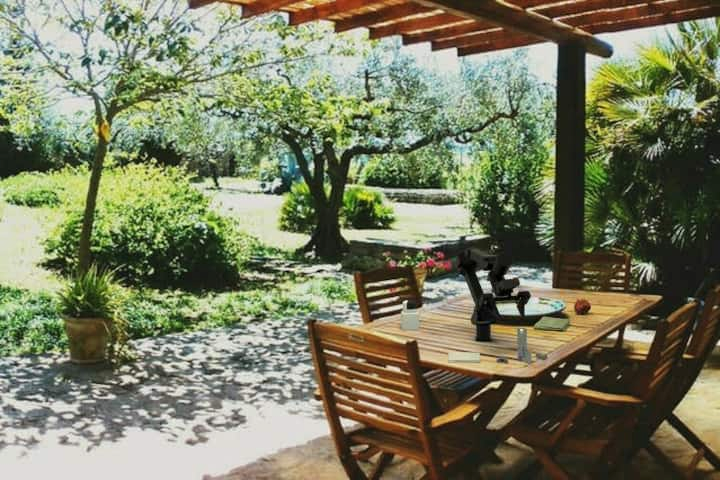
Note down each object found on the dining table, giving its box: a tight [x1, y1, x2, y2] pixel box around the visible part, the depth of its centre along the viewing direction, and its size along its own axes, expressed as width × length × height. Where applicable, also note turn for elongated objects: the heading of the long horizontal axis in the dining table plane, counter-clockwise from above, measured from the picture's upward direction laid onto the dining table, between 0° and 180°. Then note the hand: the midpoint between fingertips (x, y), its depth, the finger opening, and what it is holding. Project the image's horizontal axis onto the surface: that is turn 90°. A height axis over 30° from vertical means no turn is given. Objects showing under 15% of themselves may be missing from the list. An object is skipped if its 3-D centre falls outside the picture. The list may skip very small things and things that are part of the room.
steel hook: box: [516, 327, 532, 365], centre depth 251 cm, size 7×3×11 cm, turn 14°
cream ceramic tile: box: [448, 351, 482, 363], centre depth 256 cm, size 11×11×1 cm
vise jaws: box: [496, 352, 548, 364], centre depth 253 cm, size 5×19×1 cm, turn 104°
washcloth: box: [533, 316, 571, 332], centre depth 306 cm, size 13×18×3 cm
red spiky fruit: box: [573, 298, 592, 317], centre depth 331 cm, size 7×7×10 cm
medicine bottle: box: [400, 299, 420, 331], centre depth 308 cm, size 7×7×12 cm
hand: (511, 318), depth 259 cm, fingers open, 9 cm apart
